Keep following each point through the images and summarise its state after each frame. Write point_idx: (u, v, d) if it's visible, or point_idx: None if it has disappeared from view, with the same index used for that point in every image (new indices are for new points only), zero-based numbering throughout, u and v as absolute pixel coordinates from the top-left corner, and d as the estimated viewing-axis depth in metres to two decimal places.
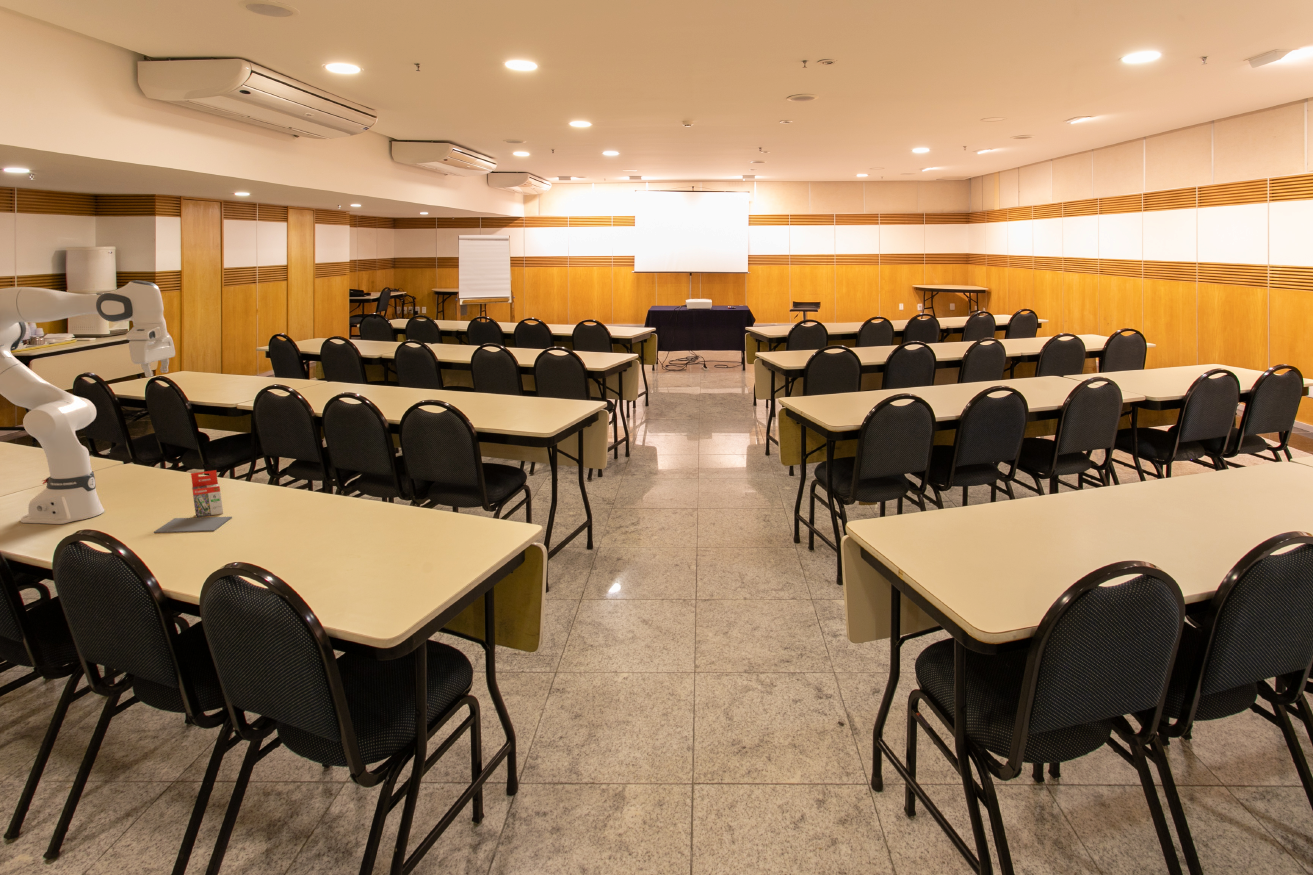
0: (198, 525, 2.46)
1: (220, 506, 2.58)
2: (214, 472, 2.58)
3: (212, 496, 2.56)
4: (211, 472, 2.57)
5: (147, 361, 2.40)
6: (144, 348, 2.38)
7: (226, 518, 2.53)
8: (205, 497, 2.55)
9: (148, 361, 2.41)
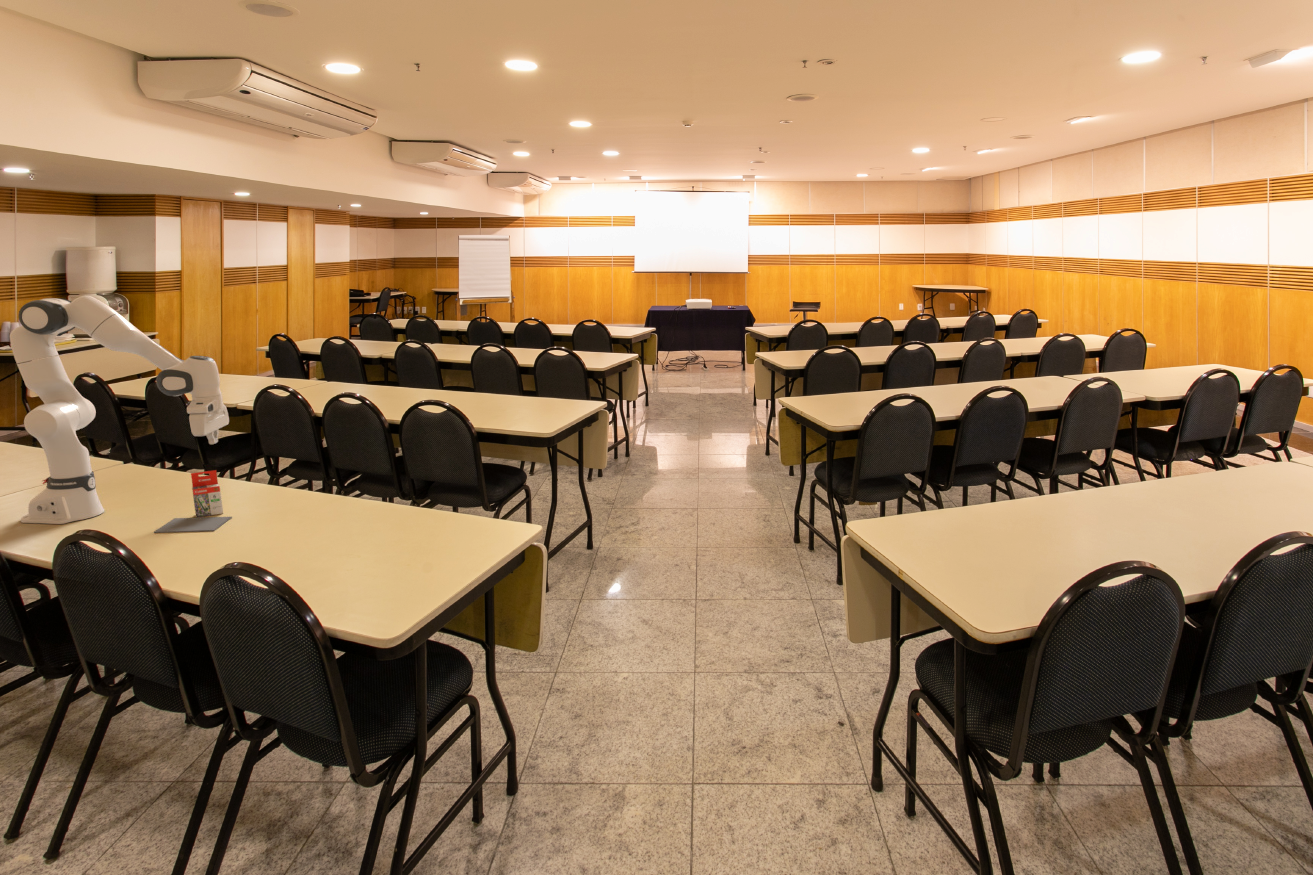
0: (198, 525, 2.46)
1: (220, 506, 2.58)
2: (214, 472, 2.58)
3: (212, 496, 2.56)
4: (211, 472, 2.57)
5: (206, 433, 2.53)
6: (203, 421, 2.51)
7: (226, 518, 2.53)
8: (205, 497, 2.55)
9: (207, 433, 2.54)
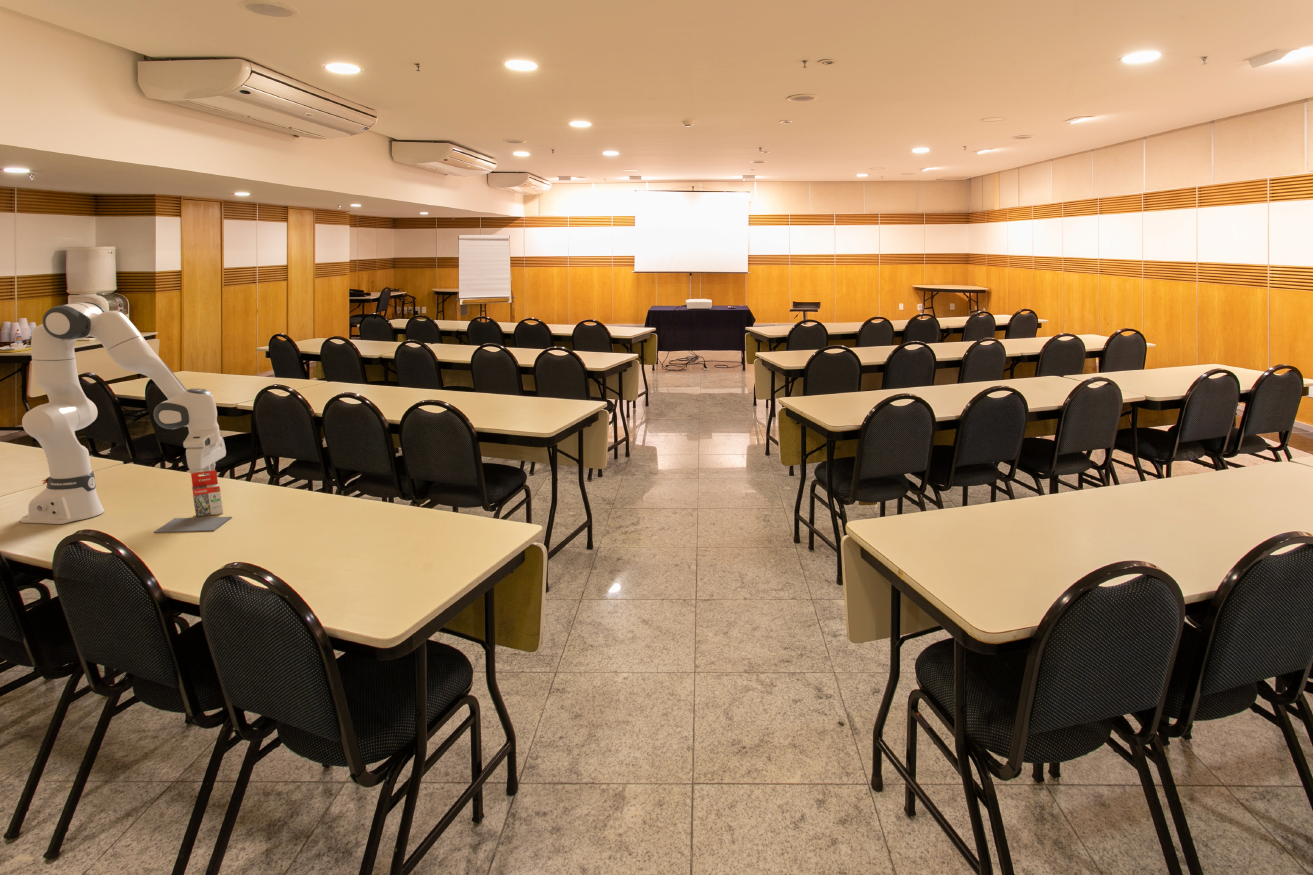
0: (198, 525, 2.46)
1: (220, 506, 2.58)
2: (214, 472, 2.57)
3: (212, 496, 2.56)
4: (211, 472, 2.57)
5: (203, 467, 2.50)
6: (200, 456, 2.48)
7: (226, 518, 2.53)
8: (205, 497, 2.55)
9: (203, 467, 2.51)
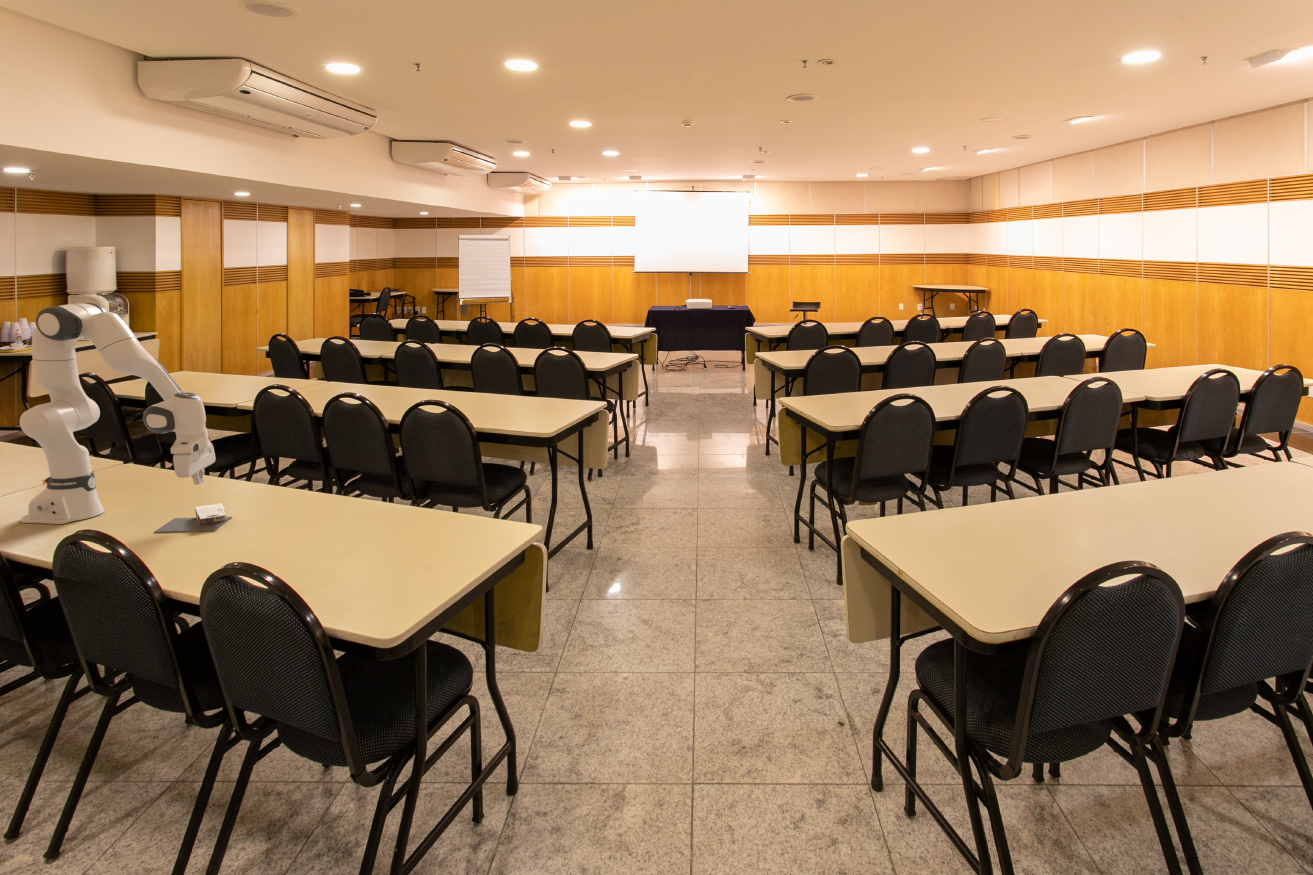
0: (198, 525, 2.46)
1: None
2: None
3: None
4: None
5: (191, 474, 2.42)
6: (188, 462, 2.40)
7: (226, 518, 2.53)
8: None
9: (191, 473, 2.43)
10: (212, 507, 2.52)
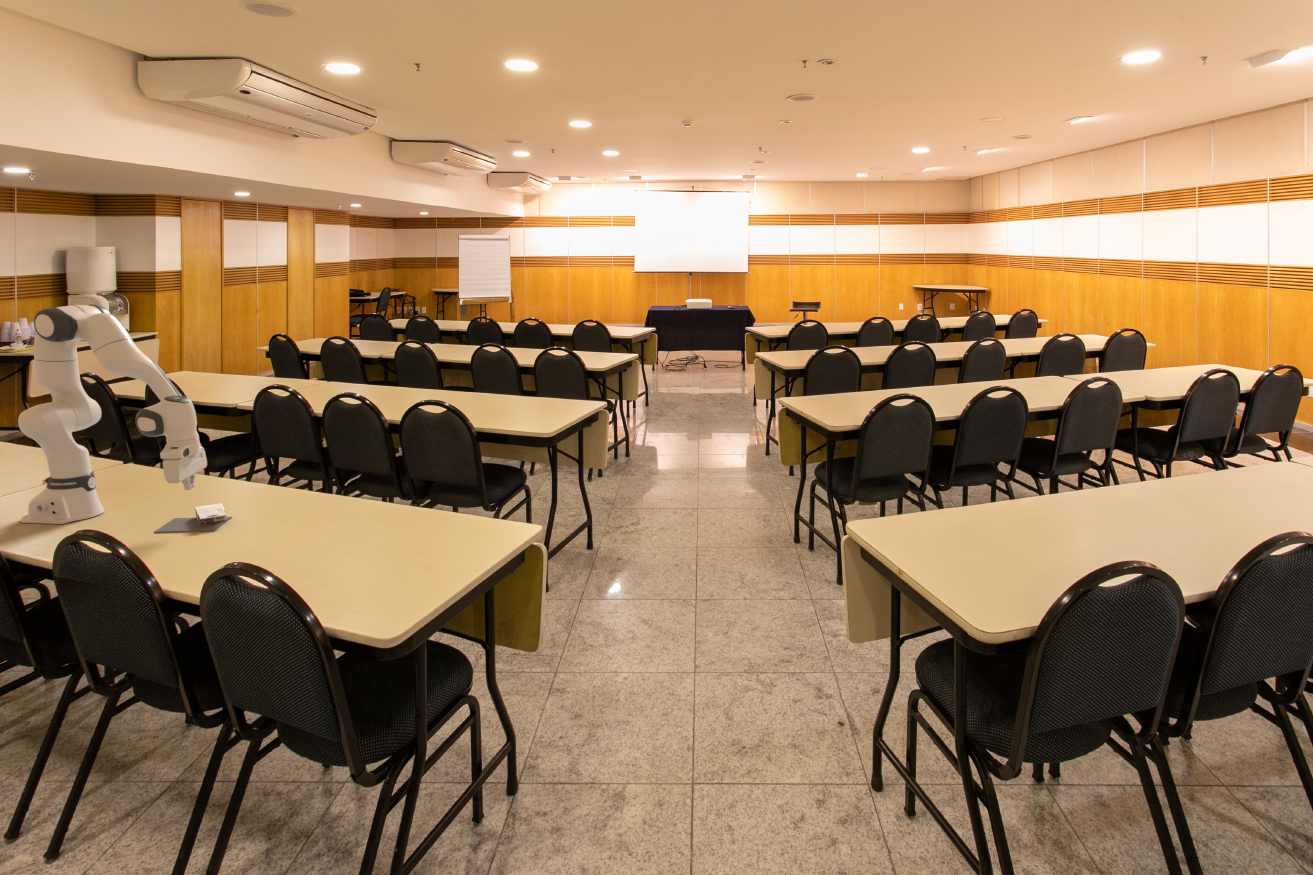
0: (198, 525, 2.46)
1: None
2: None
3: None
4: None
5: (181, 479, 2.36)
6: (178, 467, 2.34)
7: (226, 518, 2.53)
8: None
9: (182, 479, 2.37)
10: (212, 507, 2.52)
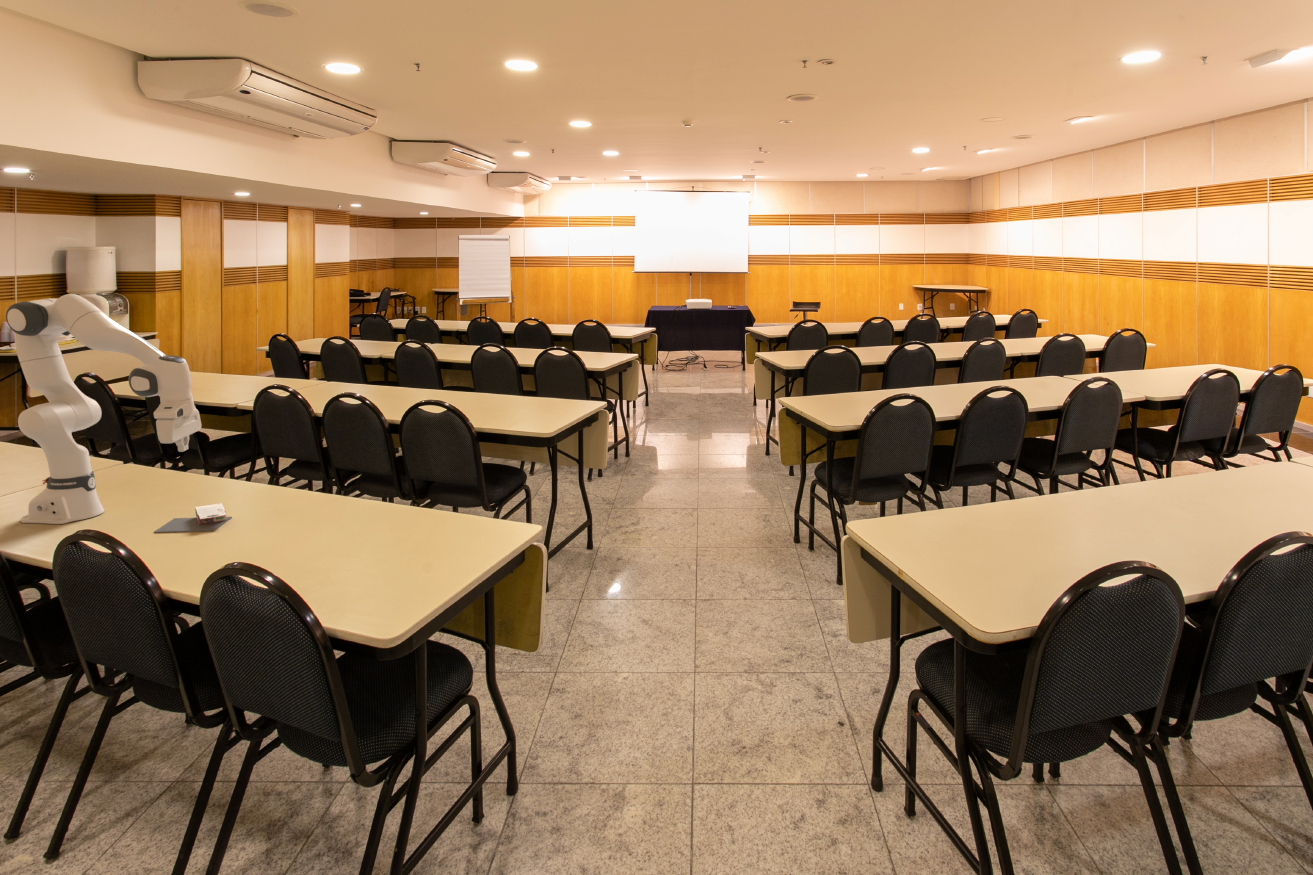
0: (198, 525, 2.46)
1: None
2: None
3: None
4: None
5: (174, 440, 2.33)
6: (172, 427, 2.31)
7: (226, 518, 2.53)
8: None
9: (175, 440, 2.34)
10: (212, 507, 2.52)
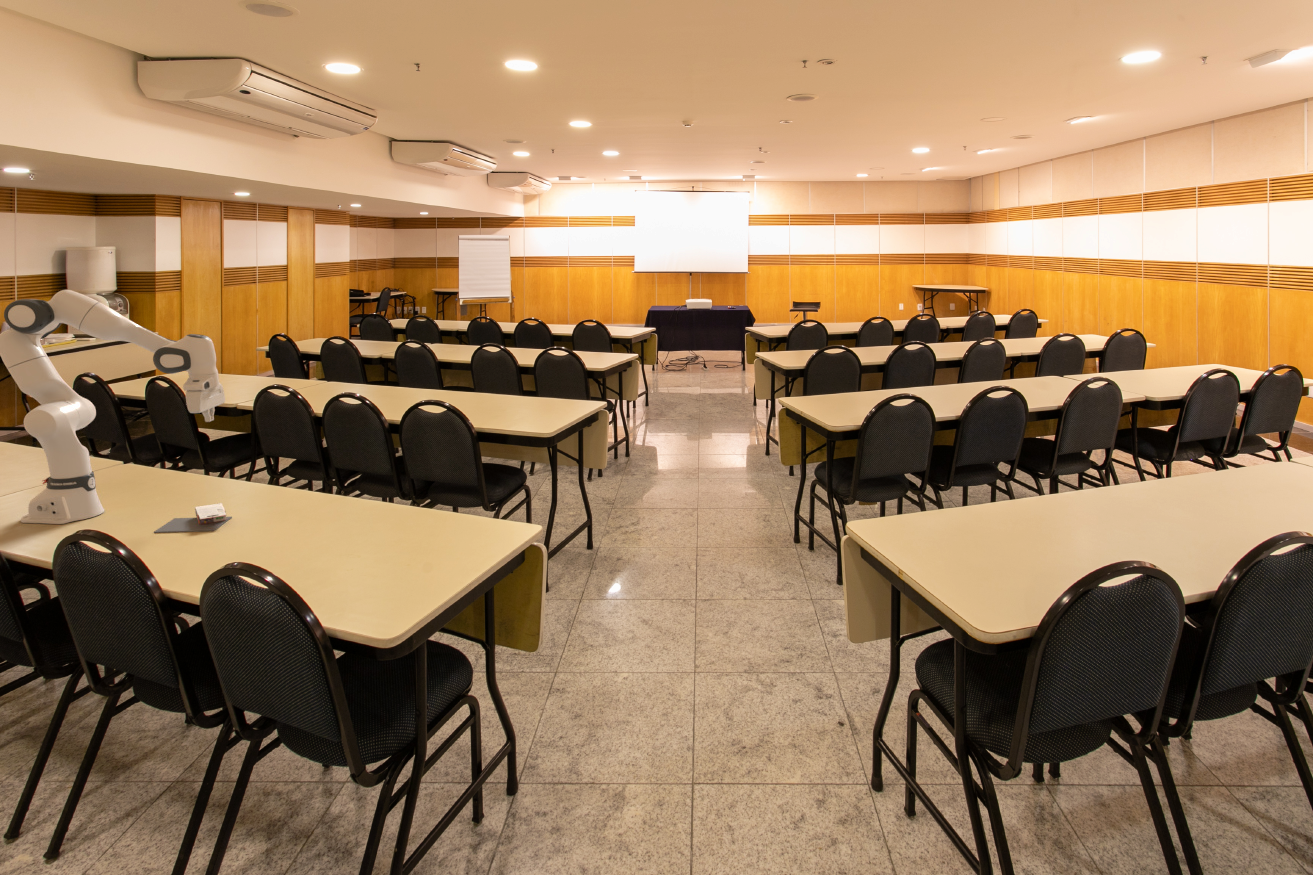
0: (198, 525, 2.46)
1: None
2: None
3: None
4: None
5: (202, 410, 2.57)
6: (200, 398, 2.55)
7: (226, 518, 2.53)
8: None
9: (203, 410, 2.57)
10: (212, 507, 2.52)
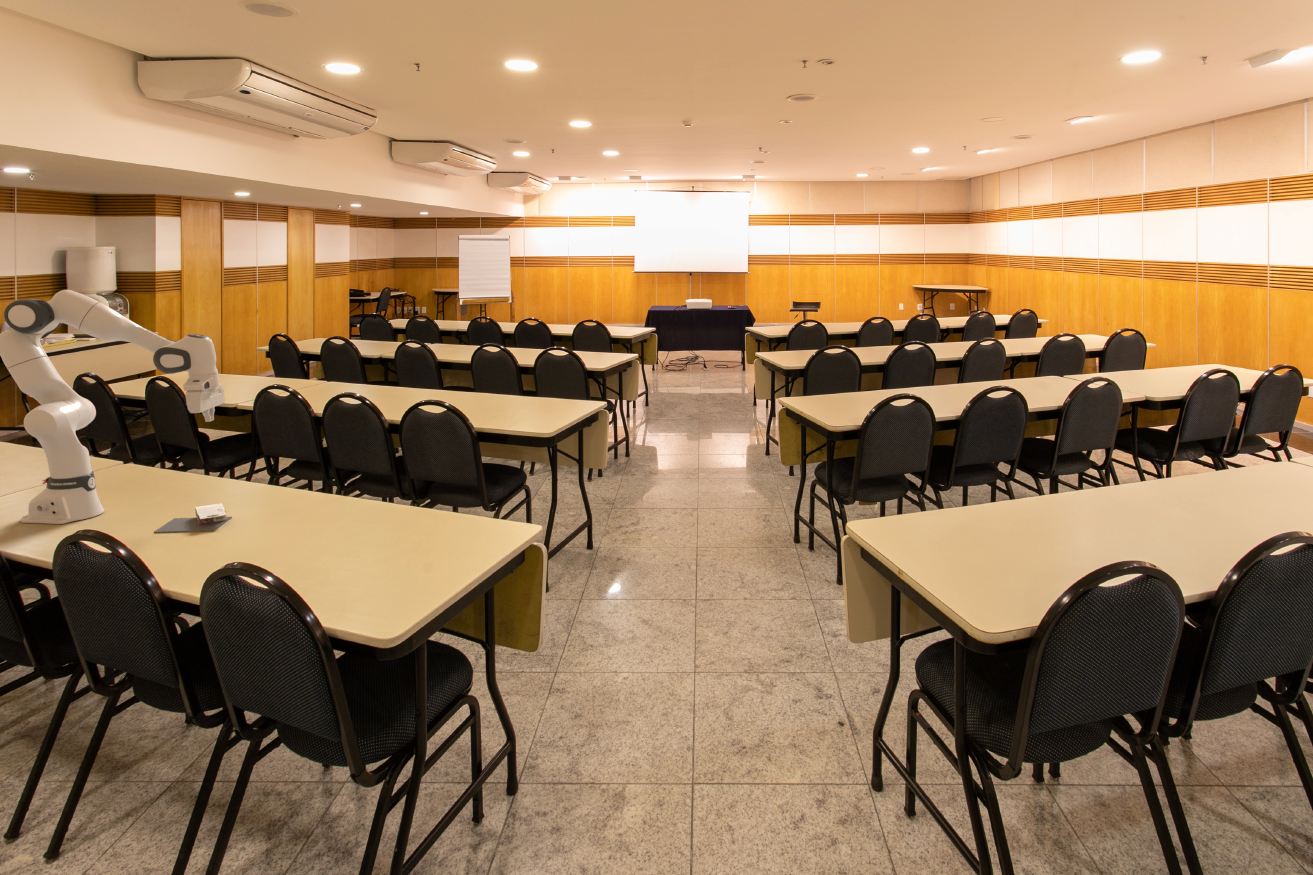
0: (198, 525, 2.46)
1: None
2: None
3: None
4: None
5: (202, 410, 2.57)
6: (200, 398, 2.55)
7: (226, 518, 2.53)
8: None
9: (203, 410, 2.58)
10: (212, 507, 2.52)
